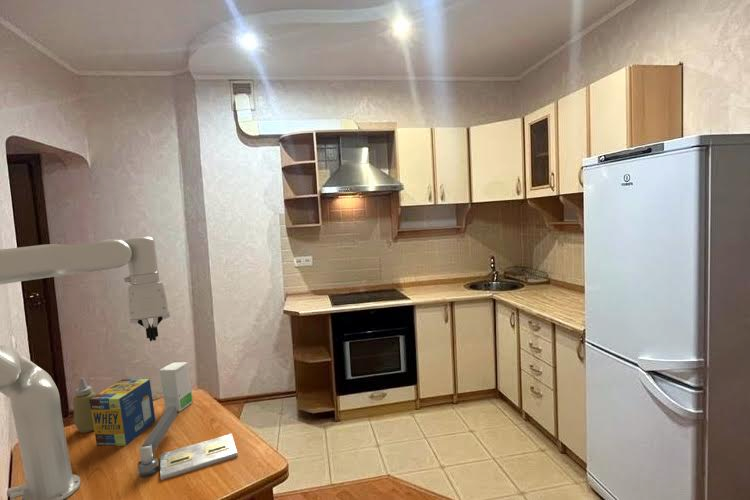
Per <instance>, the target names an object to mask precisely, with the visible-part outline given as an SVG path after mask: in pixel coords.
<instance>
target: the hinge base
mask: <svg viewBox="0 0 750 500" xmlns="http://www.w3.org/2000/svg"><path fill="white" fill-rule="evenodd" d="M153 459H154V460H153V461H152V462H151V463H149V464H145V465H143V464H142V463H141V460H140V461H139V462H138V463H137V471H138V476H139V477H140V478H142V479H143V478H144V479H146V478H149V477H152V476H154V475H156V474H157V473H158V472H159V470H160V465H159V458H158V457H157V456H153Z"/></svg>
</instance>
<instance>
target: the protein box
mask: <svg viewBox="0 0 750 500" xmlns="http://www.w3.org/2000/svg"><path fill="white" fill-rule="evenodd" d="M89 401H90V407H91V413H92V419H93V425H94V430H93V431H94V436H95V441H96V442H95V443H96V446H117V447H118V446H119V447H121V446H123V447H124V446H127V445H128V444H130V443H131V442H133V440H135V439H136V438H137V437H138V436H140V435H141V434H142V433H143V432H144V431H146V430H147V429H148V428H149V427H151V426H152V425H153V424H155V423H156V415H155V407H154V402H153V401H154V400H153V394H152V386H151V378H150V379H149V378H148V379H147V378H146V379H145V378H143V379H142V378H140V379H139V378H138V379H136V378H135V379H134V378H133V379H131V378H129V379H128V378H122V379H120V380H119V381H118V382H116V383H114V384H113V385H111V386H109V387H108V388H106V389H104V390H102V391H101V392H99V393H96V396H94V397H92V398H91V399H89Z"/></svg>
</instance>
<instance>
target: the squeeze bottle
mask: <svg viewBox="0 0 750 500" xmlns="http://www.w3.org/2000/svg"><path fill="white" fill-rule="evenodd" d="M74 392H75V396H74V397H73V401H72V404H73V422H74V425H75V427H76V428H77V430H78V432H79V433H82V434H87V433H91V432H93V431H94V425H93V419H92V413H91V407H90V401H89V399H91V398H92V397H94V396H96V395H97V393H96V392H95V391H93V388H92V386H90V385H88V384H87V382H86V380H85V377H80V378H79V380H78V388H76V390H75V391H74Z"/></svg>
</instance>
